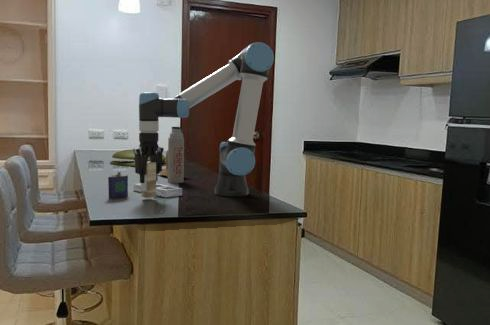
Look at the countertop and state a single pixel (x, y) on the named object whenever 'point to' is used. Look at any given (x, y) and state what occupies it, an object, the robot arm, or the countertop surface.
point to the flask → (118, 186)
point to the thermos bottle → (175, 156)
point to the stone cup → (165, 171)
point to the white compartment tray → (162, 190)
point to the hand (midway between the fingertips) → (148, 190)
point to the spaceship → (128, 155)
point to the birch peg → (150, 180)
